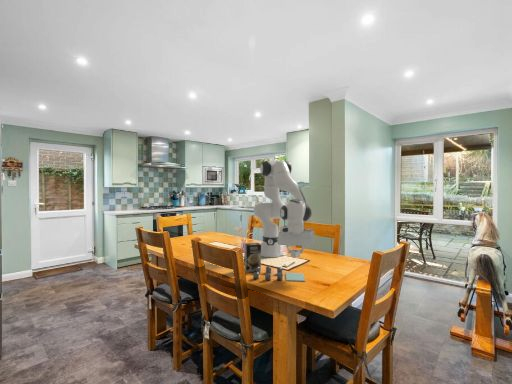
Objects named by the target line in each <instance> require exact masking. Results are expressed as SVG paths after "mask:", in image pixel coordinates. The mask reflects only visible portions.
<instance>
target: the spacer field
mask: <svg viewBox="0 0 512 384" xmlns="http://www.w3.org/2000/svg"><path fill="white" fill-rule="evenodd" d="M252 273H253V274H252V275H253V276H252V279H253V280H254V281H259V280H260V274H261V271H260V267H258V266H256V267H255V272H252ZM271 276H272V266H267V265H266V267H265V274H264V281H266V282H270V281H271V278H272V277H271ZM283 279H284V278H283V267H281V266H280V267H279V266H278V267H277V269H276V280H277V281H278V282H279V281H280V282H282V281H283Z"/></svg>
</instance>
